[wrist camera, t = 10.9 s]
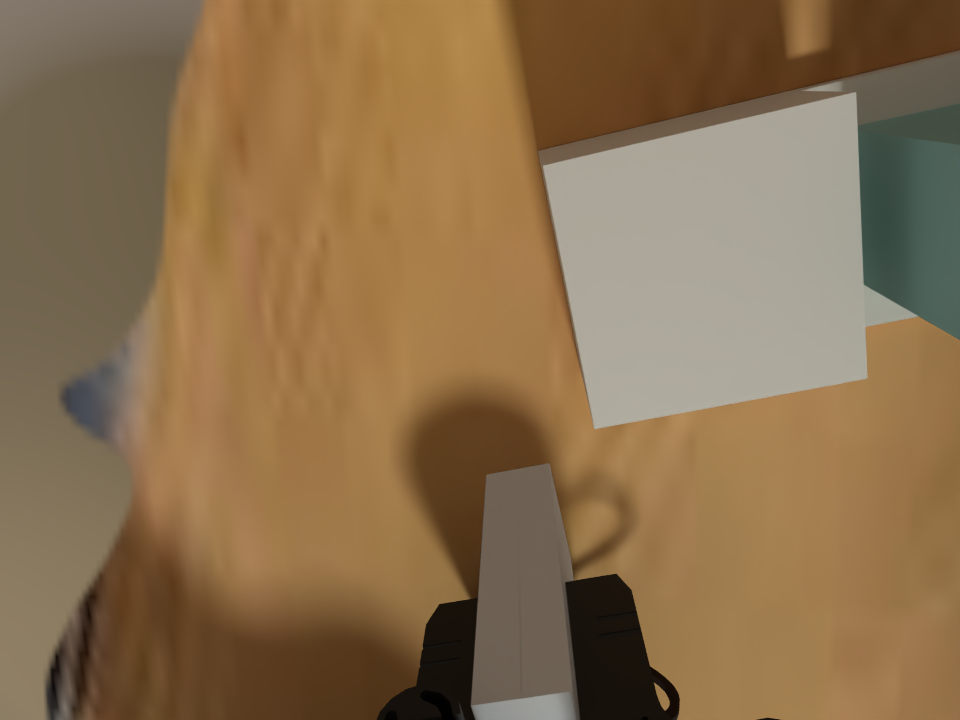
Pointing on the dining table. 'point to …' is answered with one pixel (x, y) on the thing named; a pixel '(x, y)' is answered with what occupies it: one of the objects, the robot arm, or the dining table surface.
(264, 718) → the dining table surface
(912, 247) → the carton
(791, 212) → the display stand
